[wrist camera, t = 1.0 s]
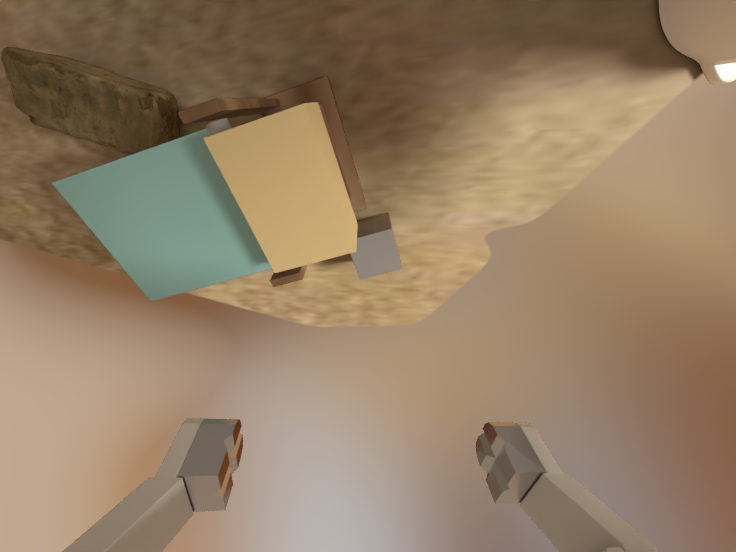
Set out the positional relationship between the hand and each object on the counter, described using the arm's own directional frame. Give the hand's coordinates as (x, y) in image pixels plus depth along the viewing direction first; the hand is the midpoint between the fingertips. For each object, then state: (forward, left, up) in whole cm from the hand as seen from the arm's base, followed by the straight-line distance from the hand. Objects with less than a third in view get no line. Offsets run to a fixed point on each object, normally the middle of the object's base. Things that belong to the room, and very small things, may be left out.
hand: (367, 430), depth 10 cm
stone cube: (0, +5, -28) cm, 28 cm away
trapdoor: (+9, -5, -17) cm, 20 cm away
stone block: (+21, -15, -28) cm, 38 cm away
